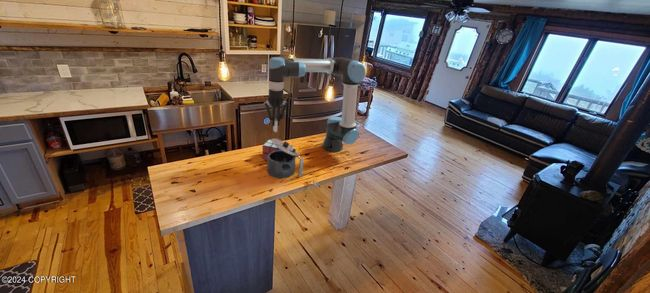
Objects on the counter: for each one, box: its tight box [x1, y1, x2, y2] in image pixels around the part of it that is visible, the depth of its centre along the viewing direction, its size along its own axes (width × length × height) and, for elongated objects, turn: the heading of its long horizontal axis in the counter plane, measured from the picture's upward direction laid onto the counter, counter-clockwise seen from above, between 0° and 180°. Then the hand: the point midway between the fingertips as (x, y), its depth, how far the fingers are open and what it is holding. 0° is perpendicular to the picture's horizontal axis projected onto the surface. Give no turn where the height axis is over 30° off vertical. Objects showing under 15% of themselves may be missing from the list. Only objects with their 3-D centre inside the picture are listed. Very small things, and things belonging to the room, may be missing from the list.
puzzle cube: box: [262, 139, 280, 161], centre depth 175 cm, size 10×10×10 cm
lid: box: [270, 137, 302, 160], centre depth 157 cm, size 18×17×4 cm
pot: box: [266, 144, 304, 179], centre depth 161 cm, size 18×20×12 cm
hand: (275, 131), depth 150 cm, fingers closed
